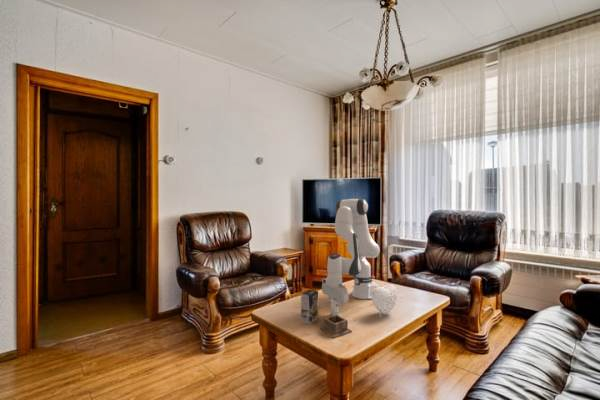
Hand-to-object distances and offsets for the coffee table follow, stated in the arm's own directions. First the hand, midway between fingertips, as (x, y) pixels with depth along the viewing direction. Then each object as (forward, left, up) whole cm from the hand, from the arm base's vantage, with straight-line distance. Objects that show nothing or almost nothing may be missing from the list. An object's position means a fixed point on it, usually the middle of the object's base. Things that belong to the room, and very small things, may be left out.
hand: (334, 305), depth 175 cm
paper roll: (0, 0, -6) cm, 6 cm away
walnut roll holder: (+12, +15, -6) cm, 20 cm away
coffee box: (+16, -3, -6) cm, 17 cm away
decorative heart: (-26, +15, -6) cm, 31 cm away
